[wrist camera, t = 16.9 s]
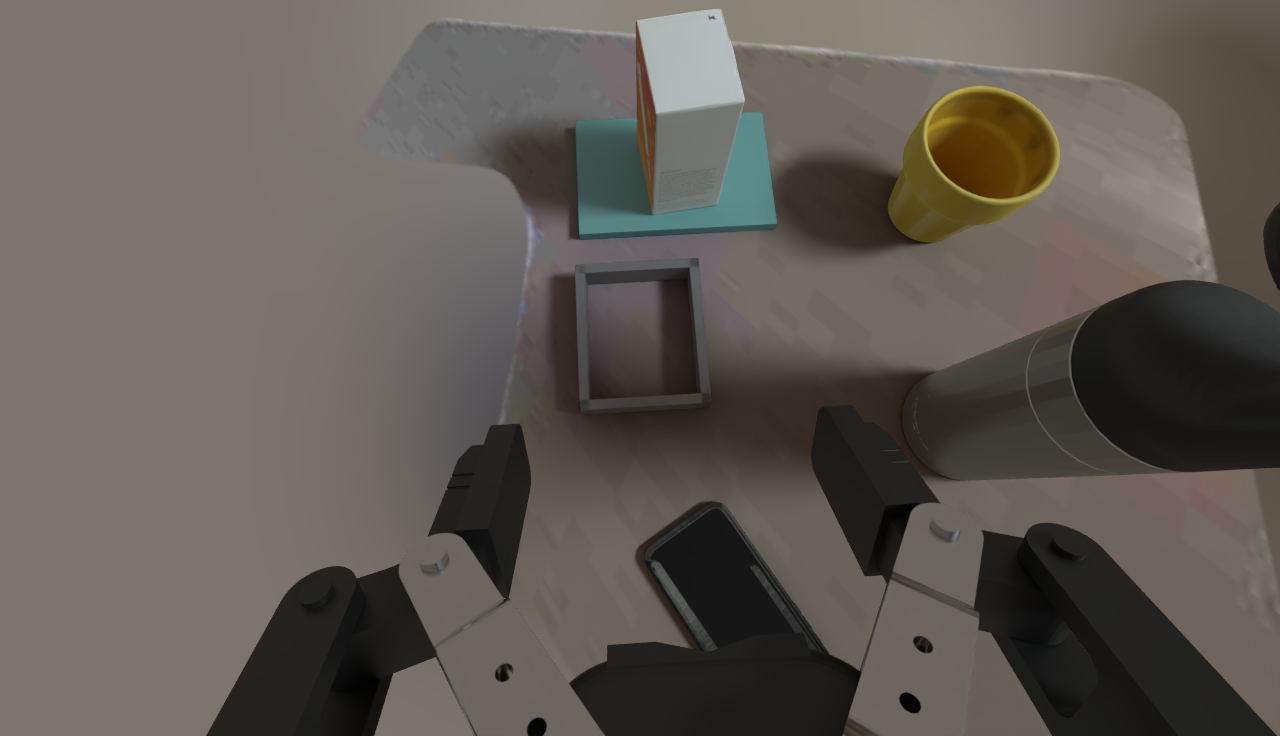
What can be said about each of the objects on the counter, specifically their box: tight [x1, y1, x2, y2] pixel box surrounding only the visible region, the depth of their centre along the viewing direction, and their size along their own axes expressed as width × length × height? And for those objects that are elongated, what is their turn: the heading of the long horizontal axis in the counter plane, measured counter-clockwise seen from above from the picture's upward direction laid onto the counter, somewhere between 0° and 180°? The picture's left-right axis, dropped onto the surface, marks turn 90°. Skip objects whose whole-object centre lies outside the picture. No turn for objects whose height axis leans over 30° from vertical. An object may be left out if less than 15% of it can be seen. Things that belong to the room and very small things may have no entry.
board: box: [575, 112, 777, 240], centre depth 48 cm, size 18×12×1 cm, turn 93°
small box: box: [636, 9, 745, 215], centre depth 41 cm, size 8×6×13 cm
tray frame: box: [575, 258, 712, 415], centre depth 43 cm, size 11×13×2 cm
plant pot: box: [888, 86, 1060, 242], centre depth 43 cm, size 10×10×10 cm
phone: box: [645, 502, 830, 655], centre depth 39 cm, size 8×1×15 cm
